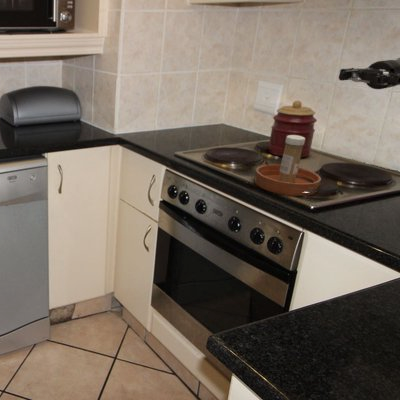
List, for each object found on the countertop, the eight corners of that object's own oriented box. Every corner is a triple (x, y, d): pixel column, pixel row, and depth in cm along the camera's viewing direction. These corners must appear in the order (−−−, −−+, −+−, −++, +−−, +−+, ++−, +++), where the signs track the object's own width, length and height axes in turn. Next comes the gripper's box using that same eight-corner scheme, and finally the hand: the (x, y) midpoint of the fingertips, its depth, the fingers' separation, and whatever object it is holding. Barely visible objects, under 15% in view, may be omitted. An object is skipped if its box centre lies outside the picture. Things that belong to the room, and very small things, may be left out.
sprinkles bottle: (298, 186, 131) (309, 138, 126) (281, 186, 131) (292, 138, 126) (289, 180, 136) (299, 134, 130) (273, 180, 135) (283, 134, 130)
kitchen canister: (318, 154, 160) (328, 101, 154) (295, 160, 154) (305, 105, 147) (281, 146, 170) (290, 96, 164) (259, 151, 164) (267, 100, 158)
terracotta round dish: (329, 188, 131) (332, 177, 130) (296, 201, 123) (299, 188, 122) (275, 172, 144) (277, 161, 143) (242, 182, 136) (244, 170, 134)
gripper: (362, 57, 136) (333, 60, 128) (421, 62, 125) (393, 66, 117) (355, 84, 139) (326, 89, 130) (412, 91, 128) (384, 97, 120)
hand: (358, 78), depth 124 cm, fingers open, 8 cm apart
